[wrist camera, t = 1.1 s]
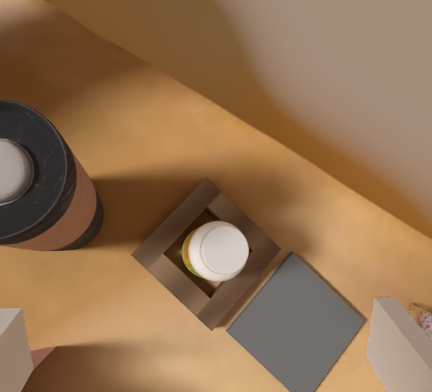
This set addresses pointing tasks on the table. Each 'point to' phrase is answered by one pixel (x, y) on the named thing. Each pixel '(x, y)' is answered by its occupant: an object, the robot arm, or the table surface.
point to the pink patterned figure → (424, 320)
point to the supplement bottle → (215, 251)
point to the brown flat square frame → (178, 282)
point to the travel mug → (42, 186)
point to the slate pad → (296, 326)
